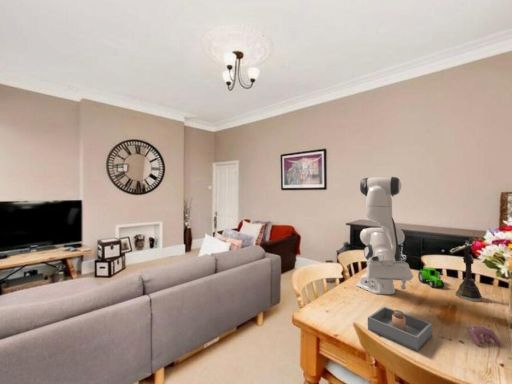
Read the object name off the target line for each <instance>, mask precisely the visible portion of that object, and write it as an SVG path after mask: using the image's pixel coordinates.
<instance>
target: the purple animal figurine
mask: <svg viewBox="0 0 512 384" xmlns="http://www.w3.org/2000/svg"><path fill="white" fill-rule="evenodd" d="M467 333H468V335H469V337H470V339H471V340H472V341H473V343H474V344H475V345H476V346H477V347H481V345H482V344H481V343H482V342H483V341H484V342H486V343H490V342H491V340H492V341H493V342H494V343H495V344H496V345H498V347H501V346H502V341H501V340H500V338H499V337H498V336H497V334H496V333H495V331H493V329H491V328H490V327H485V326H483V325H482V326H481V325H475V326H473V327H469V328H467ZM481 335H482V336H481Z"/></svg>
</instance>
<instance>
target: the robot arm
mask: <svg viewBox="0 0 512 384" xmlns="http://www.w3.org/2000/svg"><path fill="white" fill-rule="evenodd" d="M401 189H402V182H401V180H400V178H399V177H395V176H391V177H390V176H373V177H365V178H362V179H361V180H360V183H359V191H360V192H361V194H362V195H364V196H365V197H366V199H365V200H366V201H365V216H366V217H367V218H368V220H370V221H371V222H373V223H375V224H377V225H379V226H380V227H368V228H363V229H362V230H361V231H360V234H359V238H360V241H361V243H362V244H364V245H365V247H363V248H364V249H363V254H364V255H363V256H364V258H365V259H366V265H367V266H366V269H365V271H366V272H365V273H364V274H362V275H361V277H360V279H359V281H357V282H356V285H357V286H356V287H358V288H360V287H361V289H363V290H365V291H367V290H368V292H369V293H373V294H375V295H393V294H395V293H396V288H395V284H394V281H401V283H402V284H401V285H400V289H401V290H403V291H405V290H406V289H407V288H406V283H407V282H408V281H409V282H410V281H411V280H412V279H413V277H414V276H413V272H412V270H411V268H410V265H409V263H408V262H405V261H403V260H402V261H401V259H402V253H401V250H400V246H399V245H402V244H403V243H404V241H405V239H406V237H405V233H404V231H403V230H402V229H401V228H399V227H398V226H397V224H396V223H395V220H394V218H393V200H392V198H393V197H395V196H396V195H398V194H399V193H400V192H401Z"/></svg>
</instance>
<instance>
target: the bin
mask: <svg viewBox="0 0 512 384" xmlns="http://www.w3.org/2000/svg"><path fill="white" fill-rule="evenodd" d="M394 311H395V309H392V308H389V307H386V306H383V307H381V308H380V309H378V310H376V311H375V312H373V313H372V314H371V315H369V316H368V317H367V330H369V331H370V332H373V333H374V334H377V335H380V336H381V337H383V338H386V339H388V340H390V341H393V342H395V343H397V344H399V345H401V346H404V347H406V348H408V349H411V350H412V351H415V352H417V353H419V352H420V351H421V349H422V348H423V347H424V346H425V345H426V344H427V342H429V340H430V339H431V338H432V337H433V323H431V322H429V321H427V320H423V319H420V318H417V317H414V316H412V315H409V314H406V313H404V312H403V316H405V318H406V332H405V331H402V330H400V329H397V328H395V327H393V326H392V315H393V314H394Z"/></svg>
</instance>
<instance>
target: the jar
mask: <svg viewBox="0 0 512 384" xmlns="http://www.w3.org/2000/svg"><path fill="white" fill-rule="evenodd" d="M394 310H395V309H394ZM403 313H404V312H403V311H401V310H397V309H396V310H395V311H394V314H393V315H392V326H393V327H395V328H397V329H400V330H402V331H405V332H406V318H405V316H403Z"/></svg>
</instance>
